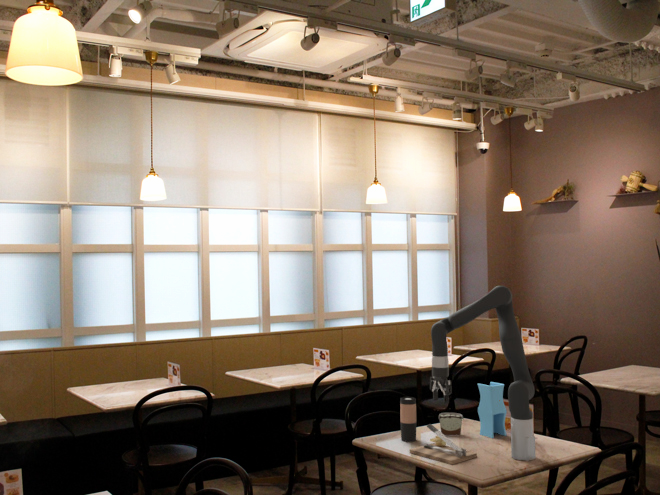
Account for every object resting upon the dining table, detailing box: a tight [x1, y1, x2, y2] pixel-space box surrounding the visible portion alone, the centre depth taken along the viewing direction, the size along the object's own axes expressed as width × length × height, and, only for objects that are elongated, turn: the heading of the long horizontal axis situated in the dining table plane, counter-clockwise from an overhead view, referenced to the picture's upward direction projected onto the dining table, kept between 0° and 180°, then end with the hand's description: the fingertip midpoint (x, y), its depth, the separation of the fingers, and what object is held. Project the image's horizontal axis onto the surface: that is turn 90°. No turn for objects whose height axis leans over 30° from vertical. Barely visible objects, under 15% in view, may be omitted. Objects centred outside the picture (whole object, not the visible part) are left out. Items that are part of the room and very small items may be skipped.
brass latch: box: [429, 435, 447, 446], centre depth 298 cm, size 4×7×4 cm, turn 130°
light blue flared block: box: [477, 381, 508, 439], centre depth 325 cm, size 10×10×25 cm
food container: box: [437, 412, 464, 437], centre depth 327 cm, size 12×6×10 cm, turn 84°
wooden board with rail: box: [409, 442, 478, 465], centre depth 289 cm, size 24×17×4 cm
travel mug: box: [399, 396, 417, 443], centre depth 316 cm, size 8×8×20 cm
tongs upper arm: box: [426, 423, 463, 453], centre depth 289 cm, size 20×2×1 cm, turn 40°
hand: (440, 401), depth 297 cm, fingers open, 8 cm apart
